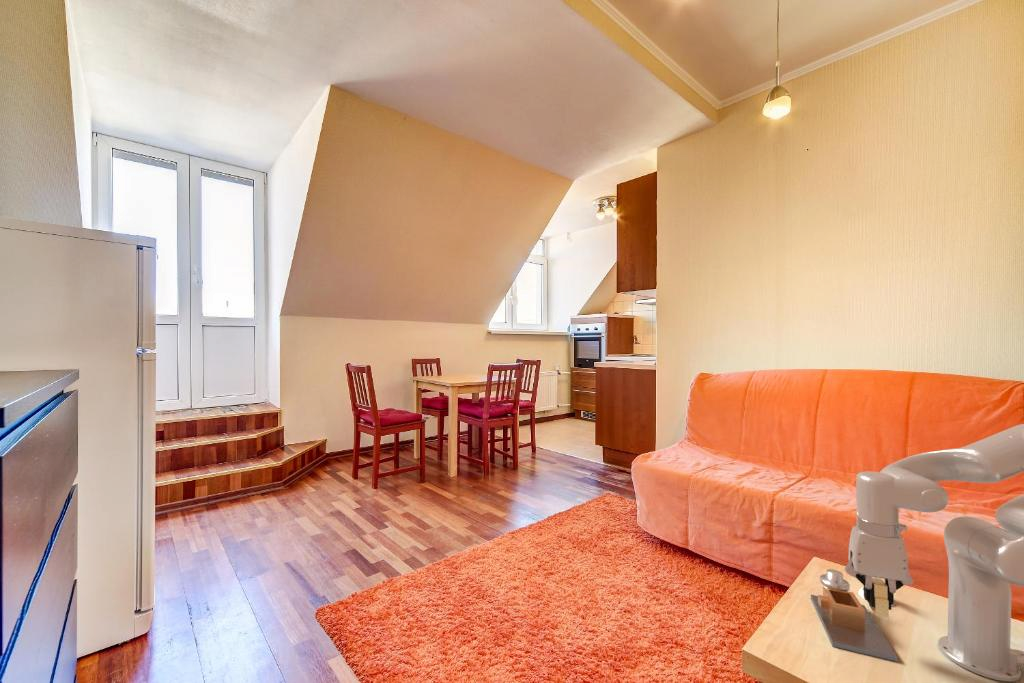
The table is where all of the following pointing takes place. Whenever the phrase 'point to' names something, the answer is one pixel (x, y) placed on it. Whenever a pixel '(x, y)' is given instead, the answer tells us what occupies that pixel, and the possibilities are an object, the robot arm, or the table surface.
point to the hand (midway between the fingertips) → (878, 604)
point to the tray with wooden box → (849, 619)
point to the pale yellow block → (880, 598)
